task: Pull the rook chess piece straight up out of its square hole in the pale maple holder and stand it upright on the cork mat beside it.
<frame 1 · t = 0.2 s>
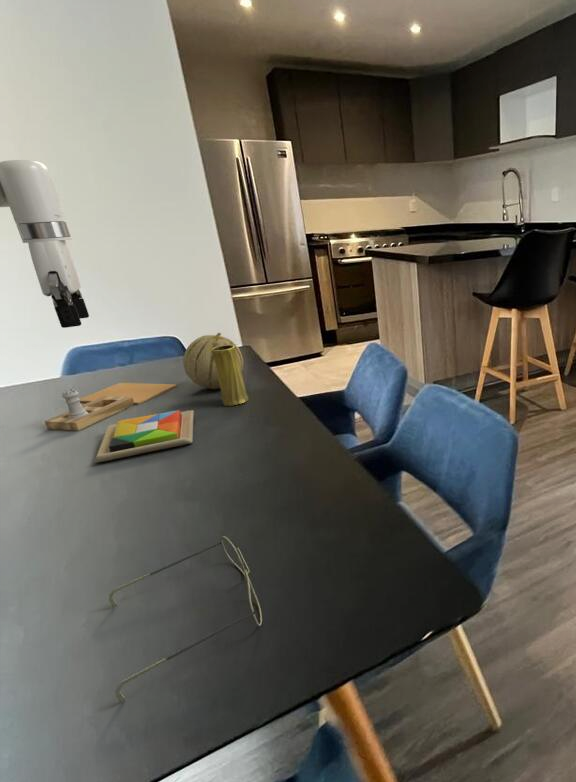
hand: (76, 322, 100), 25 cm above the table, tool pointing down, fingers open, 9 cm apart
rook chess piece: (81, 422, 118), resting in holder
eyeglasses: (189, 618, 58), on the table
holder: (93, 416, 121), on the table
cork mat: (128, 393, 136), on the table
cantaloupe: (220, 387, 137), on the table
vase: (236, 402, 125), on the table
wooden puzzle: (150, 439, 107), on the table
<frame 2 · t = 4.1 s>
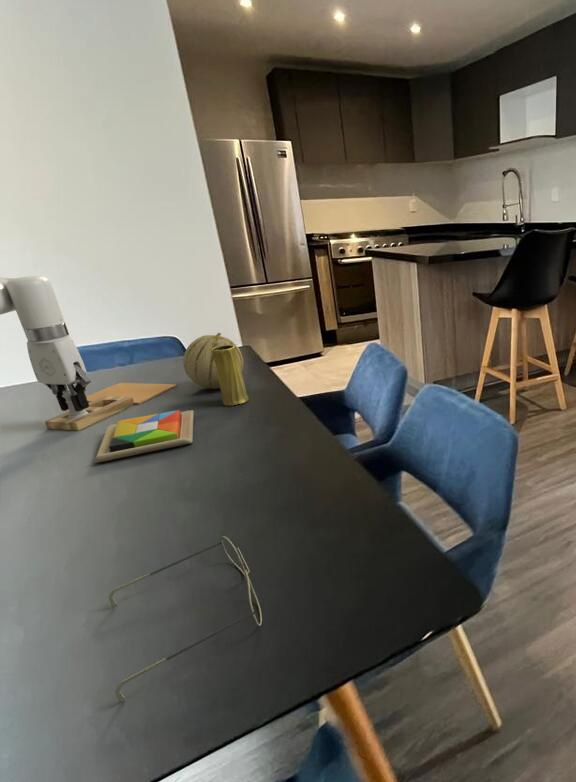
hand: (75, 408, 117), 4 cm above the table, tool pointing down, fingers closed on rook chess piece, 3 cm apart
rook chess piece: (81, 422, 118), resting in holder, touching gripper
everything else where it was.
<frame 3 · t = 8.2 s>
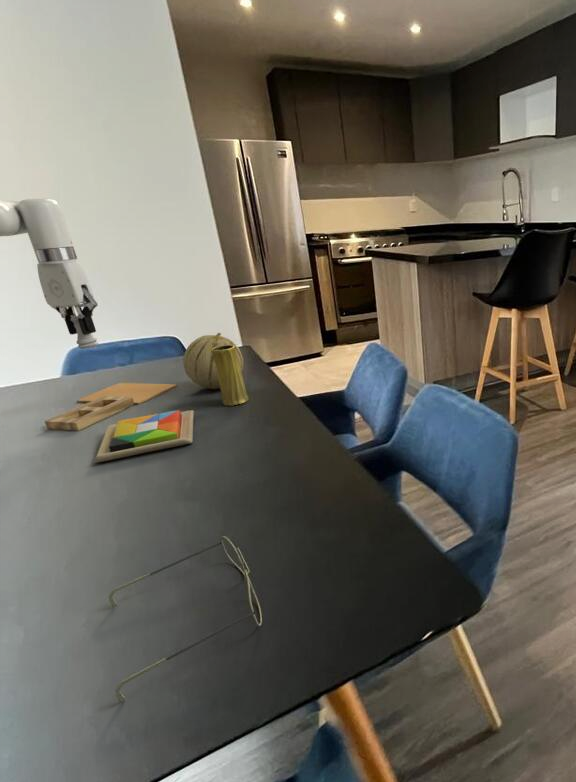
hand: (83, 332, 122), 19 cm above the table, tool pointing down, fingers closed on rook chess piece, 3 cm apart
rook chess piece: (89, 347, 123), point 15 cm above the table, touching gripper
everything else where it was.
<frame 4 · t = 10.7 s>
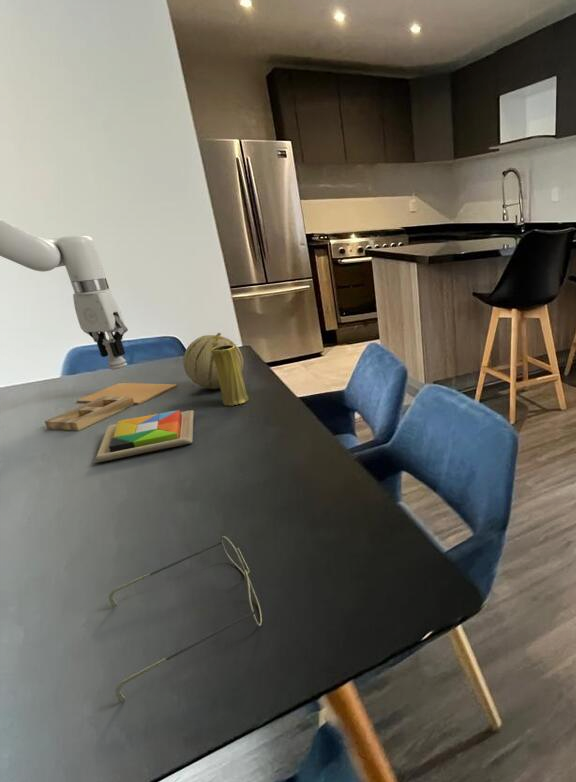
hand: (113, 354, 133), 11 cm above the table, tool pointing down, fingers closed on rook chess piece, 3 cm apart
rook chess piece: (118, 368, 134), point 7 cm above the table, touching gripper
everything else where it was.
when the fingers open (4 cm above the table, at t = 12.5 s): rook chess piece stays where it is, resting on cork mat.
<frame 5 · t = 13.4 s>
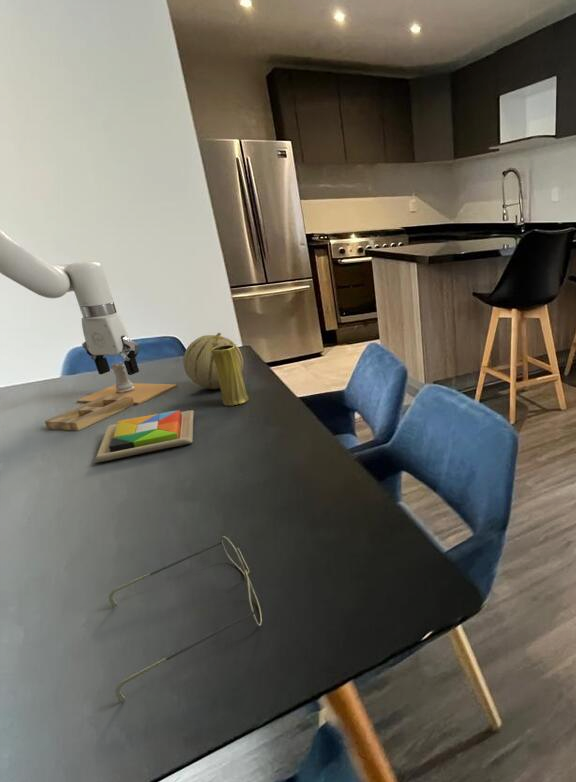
hand: (119, 373, 135), 6 cm above the table, tool pointing down, fingers open, 9 cm apart
rook chess piece: (126, 391, 137), resting on cork mat
everything else where it was.
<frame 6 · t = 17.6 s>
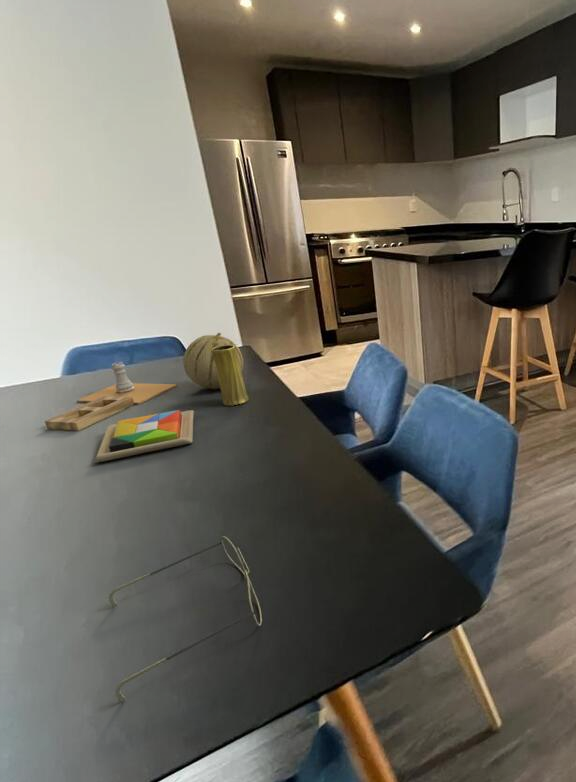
nothing on the table moved.
at the end: rook chess piece inside the target area on the cork mat (2.1 cm from its centre), point 0.3 cm above the cork mat's base; rook chess piece tilted 0°; rook chess piece touching cork mat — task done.
